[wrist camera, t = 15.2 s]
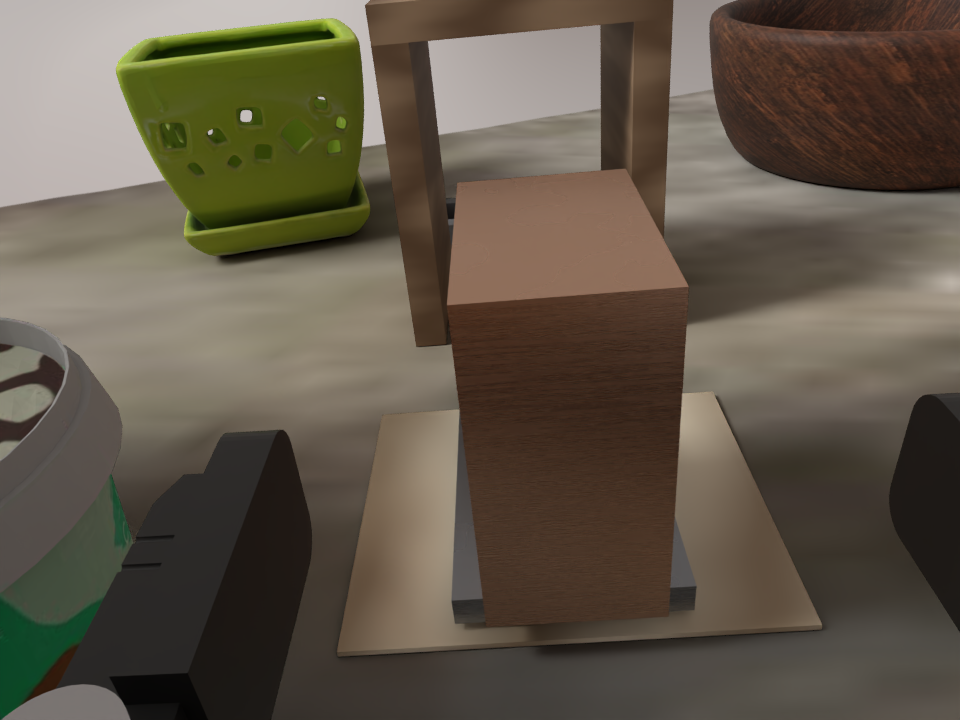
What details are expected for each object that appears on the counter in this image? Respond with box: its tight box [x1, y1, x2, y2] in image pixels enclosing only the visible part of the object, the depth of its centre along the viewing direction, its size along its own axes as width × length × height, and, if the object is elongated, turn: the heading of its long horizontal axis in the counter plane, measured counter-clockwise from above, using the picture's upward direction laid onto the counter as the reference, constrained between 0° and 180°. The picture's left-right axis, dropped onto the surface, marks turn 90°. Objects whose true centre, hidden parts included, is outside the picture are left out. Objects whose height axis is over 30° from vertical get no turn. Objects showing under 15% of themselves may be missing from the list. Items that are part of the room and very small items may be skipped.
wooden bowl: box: [710, 0, 960, 190], centre depth 55 cm, size 25×25×10 cm
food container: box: [0, 318, 134, 720], centre depth 21 cm, size 12×6×10 cm, turn 51°
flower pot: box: [116, 18, 370, 256], centre depth 51 cm, size 14×14×13 cm
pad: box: [337, 392, 822, 657], centre depth 27 cm, size 14×12×1 cm
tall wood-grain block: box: [447, 169, 697, 627], centre depth 25 cm, size 7×15×11 cm, turn 0°
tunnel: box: [365, 0, 673, 347], centre depth 38 cm, size 12×10×16 cm
